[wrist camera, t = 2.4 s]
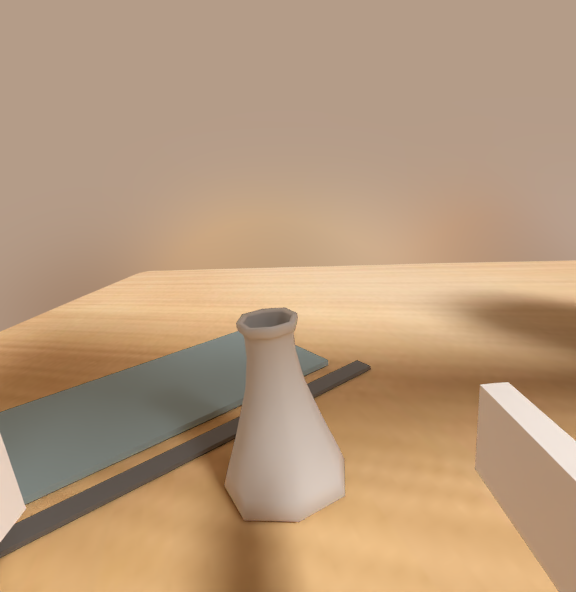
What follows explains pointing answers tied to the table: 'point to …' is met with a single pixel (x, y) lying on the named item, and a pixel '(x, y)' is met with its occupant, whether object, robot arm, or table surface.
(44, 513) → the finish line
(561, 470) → the robot arm
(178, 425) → the mat
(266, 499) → the flask
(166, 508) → the table surface
